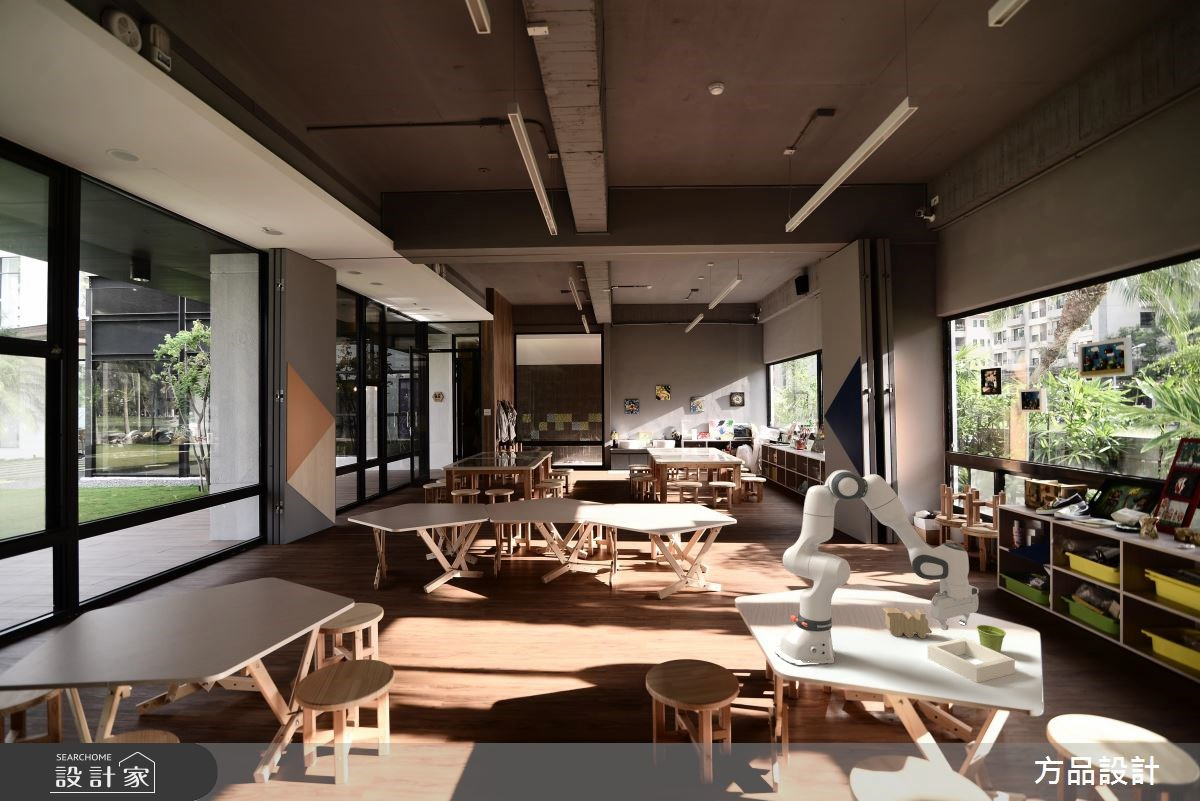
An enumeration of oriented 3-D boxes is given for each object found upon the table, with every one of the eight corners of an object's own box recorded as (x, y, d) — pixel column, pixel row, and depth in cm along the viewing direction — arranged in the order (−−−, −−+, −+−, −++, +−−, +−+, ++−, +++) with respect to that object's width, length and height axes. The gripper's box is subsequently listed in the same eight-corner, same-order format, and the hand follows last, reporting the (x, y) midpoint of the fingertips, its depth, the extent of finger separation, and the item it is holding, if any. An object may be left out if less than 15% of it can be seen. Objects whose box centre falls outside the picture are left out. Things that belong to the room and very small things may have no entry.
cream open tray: (976, 682, 196) (976, 668, 196) (927, 658, 214) (927, 645, 214) (1014, 673, 203) (1014, 659, 203) (963, 650, 221) (964, 637, 221)
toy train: (931, 639, 231) (932, 614, 231) (886, 636, 234) (887, 611, 233) (926, 633, 236) (926, 609, 236) (882, 630, 239) (882, 606, 239)
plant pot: (1004, 650, 221) (1004, 628, 221) (1007, 660, 213) (1007, 637, 213) (975, 644, 226) (975, 623, 226) (976, 654, 218) (977, 631, 218)
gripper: (941, 596, 199) (941, 636, 199) (982, 588, 206) (981, 625, 206) (925, 590, 204) (925, 628, 205) (965, 582, 212) (965, 619, 212)
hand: (954, 627), depth 206 cm, fingers open, 8 cm apart
